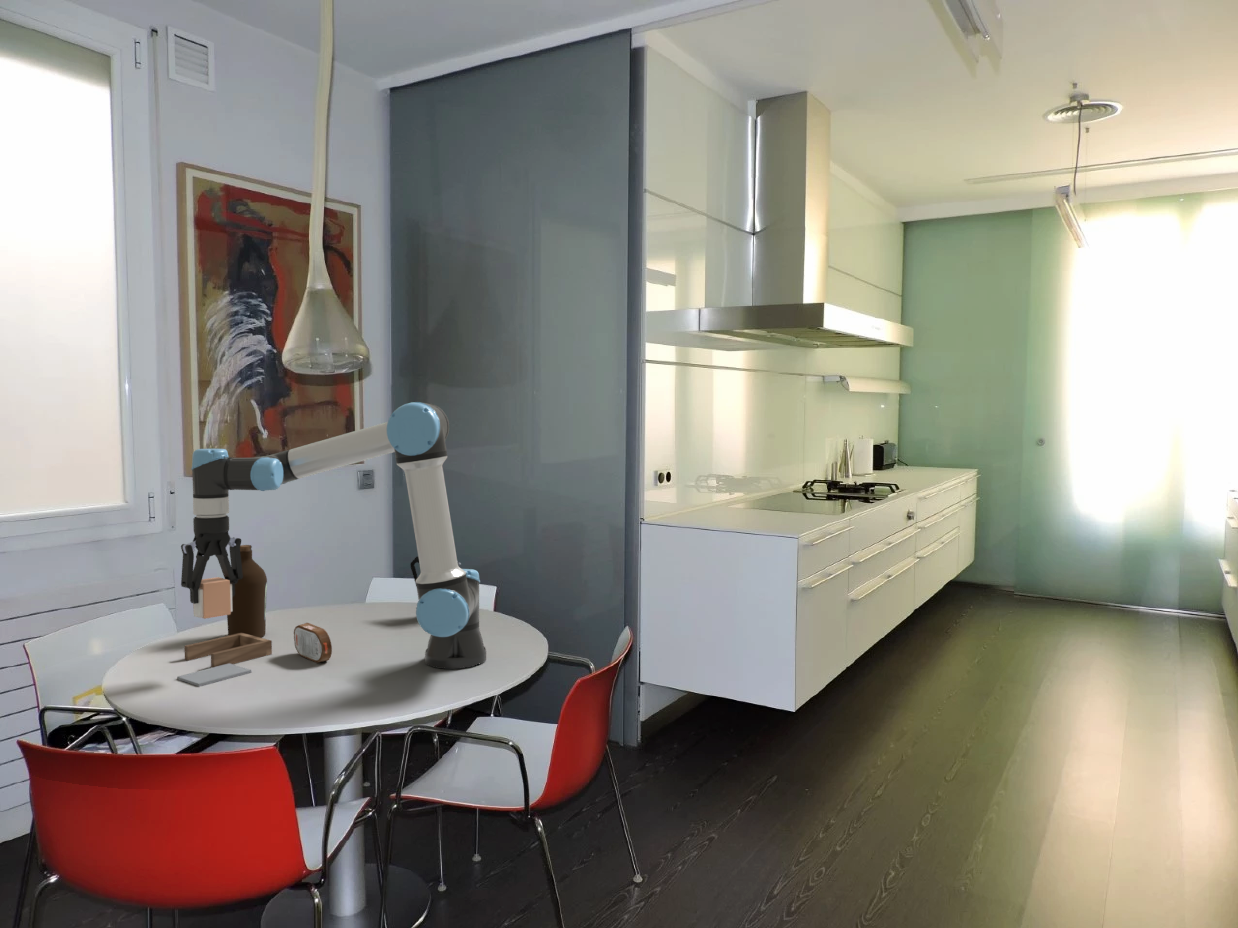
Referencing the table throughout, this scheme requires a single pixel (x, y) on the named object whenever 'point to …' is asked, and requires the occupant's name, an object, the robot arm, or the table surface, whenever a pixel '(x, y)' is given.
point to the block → (215, 597)
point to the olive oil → (249, 598)
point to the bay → (229, 649)
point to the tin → (312, 642)
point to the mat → (213, 674)
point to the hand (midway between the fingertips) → (213, 613)
